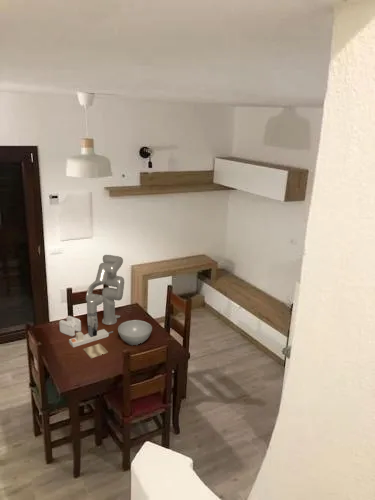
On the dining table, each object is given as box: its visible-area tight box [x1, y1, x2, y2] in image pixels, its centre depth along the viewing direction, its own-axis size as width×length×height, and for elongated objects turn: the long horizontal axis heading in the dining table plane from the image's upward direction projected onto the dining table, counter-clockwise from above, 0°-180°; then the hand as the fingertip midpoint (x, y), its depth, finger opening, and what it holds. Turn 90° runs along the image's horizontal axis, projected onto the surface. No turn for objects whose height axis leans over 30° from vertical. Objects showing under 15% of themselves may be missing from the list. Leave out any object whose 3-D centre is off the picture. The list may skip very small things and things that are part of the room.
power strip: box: [68, 328, 114, 348], centre depth 325 cm, size 36×8×8 cm, turn 127°
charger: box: [87, 326, 97, 337], centre depth 325 cm, size 5×5×8 cm
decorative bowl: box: [117, 319, 153, 346], centre depth 324 cm, size 27×27×12 cm
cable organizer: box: [58, 315, 82, 337], centre depth 332 cm, size 15×11×12 cm
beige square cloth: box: [82, 343, 109, 359], centre depth 310 cm, size 14×14×1 cm
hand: (92, 332), depth 325 cm, fingers open, 7 cm apart
